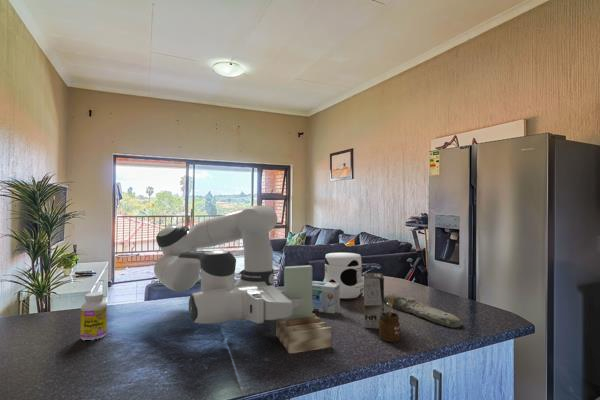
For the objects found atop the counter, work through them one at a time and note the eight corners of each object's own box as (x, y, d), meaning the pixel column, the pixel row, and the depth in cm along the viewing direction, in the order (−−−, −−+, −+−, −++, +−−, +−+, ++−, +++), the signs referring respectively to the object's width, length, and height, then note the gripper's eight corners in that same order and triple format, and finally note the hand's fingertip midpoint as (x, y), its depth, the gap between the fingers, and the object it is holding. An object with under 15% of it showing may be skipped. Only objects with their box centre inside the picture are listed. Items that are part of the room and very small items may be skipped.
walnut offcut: (288, 344, 91) (288, 322, 92) (286, 341, 93) (286, 319, 93) (319, 339, 94) (318, 318, 95) (316, 337, 96) (316, 316, 96)
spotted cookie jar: (319, 292, 151) (319, 252, 151) (357, 291, 153) (357, 251, 153) (327, 303, 133) (327, 258, 134) (369, 302, 135) (369, 257, 136)
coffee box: (384, 329, 106) (384, 278, 106) (363, 328, 108) (363, 277, 108) (383, 319, 115) (383, 272, 115) (364, 318, 117) (364, 271, 117)
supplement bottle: (79, 343, 96) (79, 298, 96) (81, 335, 101) (82, 292, 102) (106, 339, 99) (106, 295, 99) (107, 331, 105) (107, 290, 105)
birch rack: (289, 359, 86) (289, 333, 86) (275, 340, 98) (275, 317, 98) (332, 352, 90) (332, 328, 90) (313, 334, 102) (313, 313, 102)
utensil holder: (378, 340, 97) (378, 299, 98) (380, 333, 103) (380, 294, 104) (399, 343, 95) (399, 301, 96) (400, 335, 101) (400, 295, 101)
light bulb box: (306, 314, 121) (306, 284, 121) (312, 308, 127) (313, 280, 128) (335, 318, 117) (335, 287, 117) (340, 312, 123) (340, 282, 123)
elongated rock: (447, 335, 106) (467, 331, 110) (449, 318, 106) (469, 315, 110) (373, 301, 136) (392, 299, 141) (374, 288, 136) (393, 286, 141)
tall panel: (286, 338, 95) (286, 268, 95) (284, 336, 97) (284, 266, 97) (312, 335, 98) (312, 266, 98) (309, 332, 100) (309, 265, 100)
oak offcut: (296, 349, 88) (296, 330, 88) (294, 346, 90) (294, 327, 90) (321, 345, 91) (321, 327, 91) (318, 342, 92) (318, 324, 92)
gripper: (244, 303, 103) (287, 298, 107) (258, 326, 83) (310, 319, 88) (244, 282, 103) (287, 279, 107) (259, 300, 83) (310, 295, 88)
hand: (297, 297), depth 98 cm, fingers open, 7 cm apart
